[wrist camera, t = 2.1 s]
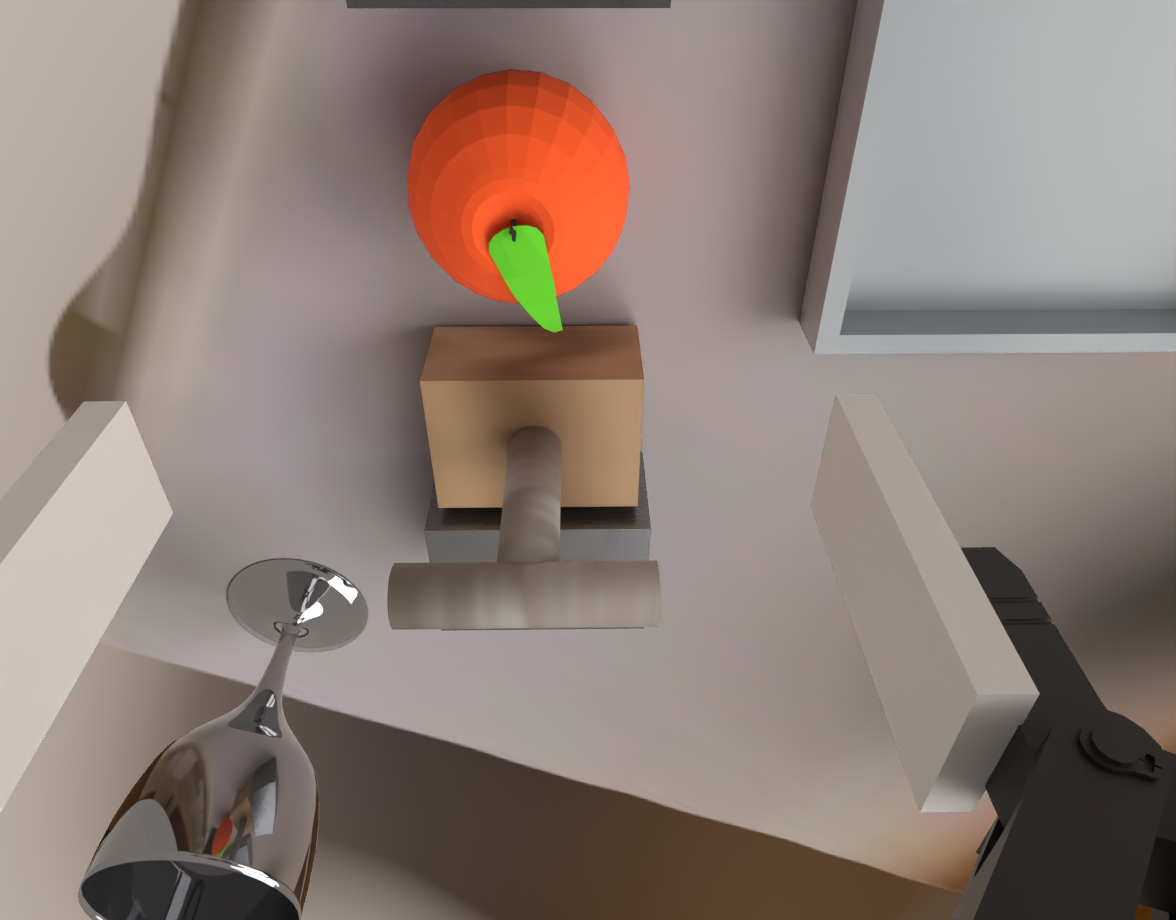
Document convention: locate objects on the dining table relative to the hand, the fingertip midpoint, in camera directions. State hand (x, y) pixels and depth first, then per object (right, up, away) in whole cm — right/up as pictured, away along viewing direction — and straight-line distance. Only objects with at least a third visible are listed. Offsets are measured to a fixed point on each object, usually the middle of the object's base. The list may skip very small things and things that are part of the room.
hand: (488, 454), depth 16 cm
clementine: (0, +10, +13) cm, 17 cm away
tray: (+19, +12, +12) cm, 25 cm away
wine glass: (-13, -8, +27) cm, 31 cm away
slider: (0, +3, +18) cm, 19 cm away
